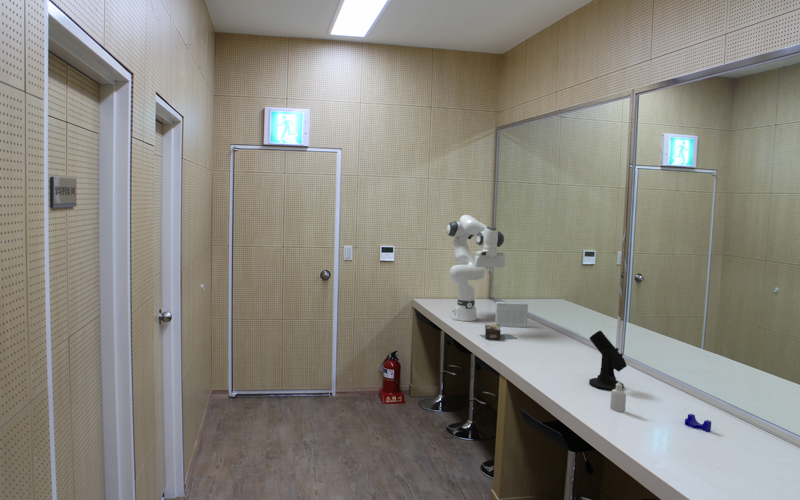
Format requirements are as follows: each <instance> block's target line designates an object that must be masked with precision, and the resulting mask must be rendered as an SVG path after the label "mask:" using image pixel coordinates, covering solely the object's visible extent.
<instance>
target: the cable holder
mask: <svg viewBox="0 0 800 500" xmlns="http://www.w3.org/2000/svg"><path fill="white" fill-rule="evenodd" d="M684 426H687V427H690V428H692V429H698V430H701V431H704V432H706V433H708V432H711V431H712V430H711V429H712V420H708V419H706V420H704V421H703V423H702V424H701V423H699V422H698V420H697V419H696V415H695V414H693V413H689V414H687V418H684Z"/></svg>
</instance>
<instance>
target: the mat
mask: <svg viewBox="0 0 800 500" xmlns="http://www.w3.org/2000/svg"><path fill="white" fill-rule="evenodd" d="M479 336H480V337H481V338H484V339H485V340H487V341H492V340H493V341H494V340H495V339H486V338H485V334H480V335H479ZM513 339H514V340H515V339H518V337H516V336H514V335H513V334H510V333H501V334H500V340H513Z"/></svg>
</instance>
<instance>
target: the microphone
mask: <svg viewBox="0 0 800 500" xmlns="http://www.w3.org/2000/svg"><path fill="white" fill-rule="evenodd" d="M589 340H590V342H591V343H592V345H594V346H595V348H596V349H597V350H598V352H599V353H600V354H601V364H600V372H599V374H597V377H593V378H589V381H588V383H589V385H590V387H592V388H594V389H597V390H601V391H607V392H611V391H612V390H613V389H616V384H617V383H618V381H619V380H617V377H616V375H615V370H616V371H617V372H620V371H622V370H623V369H625V368H626V367H628V365H627V363H626V360H625V358H624V357H623V356H624V354H623V353H622V352H621V353H620V352H619V350H620V349H619V347H615V346H614V345H613V343H612V342H611V341H610V340H609V339H608V337H607V336H606V335H605V334H604V332H603V331H602V330H598V331H596V332H595V333H593V334H592V335H590V337H589ZM621 384H622V391H624V388H625V385H624V384H623V383H622V382H621Z"/></svg>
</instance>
